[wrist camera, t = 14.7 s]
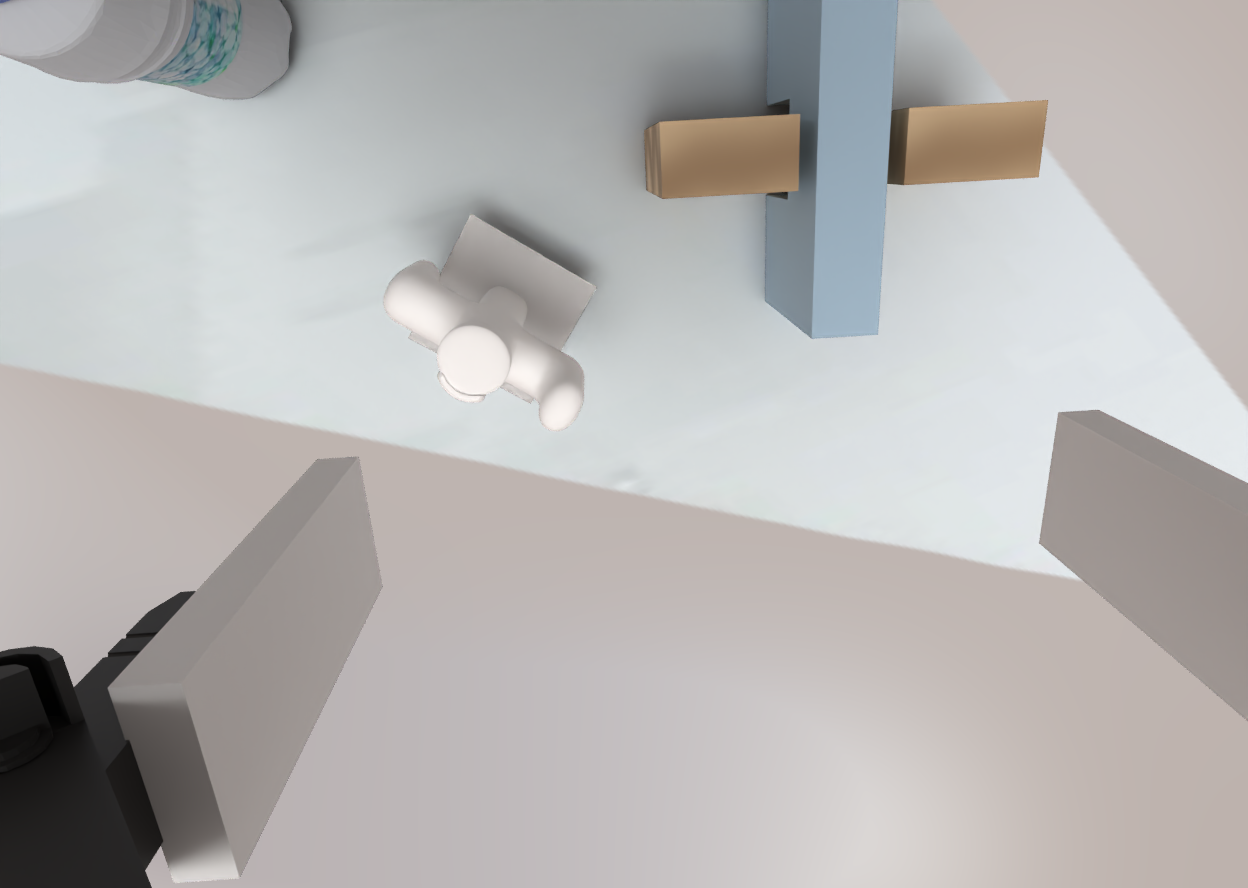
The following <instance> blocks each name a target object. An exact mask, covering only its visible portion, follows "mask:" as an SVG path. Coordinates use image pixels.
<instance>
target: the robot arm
mask: <svg viewBox="0 0 1248 888" xmlns="http://www.w3.org/2000/svg"><path fill="white" fill-rule="evenodd" d="M1039 543H1040V544H1041V545H1042V546H1043V547H1044V548H1045V549H1047V550H1048V551H1049V552H1050V553H1051V554H1052V555H1054V556H1055V557H1056V558H1057V559H1058V560H1059V561H1061V562H1062V563H1063V564H1064V565H1065V566H1066V567H1068V568H1069V569H1070V570H1071V571H1072V572H1073V573H1075V574H1076V575H1077V576H1078V577H1079V578H1080V579H1082V580H1083V581H1084V582H1085V583H1086V584H1088V585H1089V586H1090V587H1091V588H1092V589H1094V590H1095V591H1096V592H1097V593H1098V594H1099V595H1100V596H1102V597H1103V598H1104V599H1105V600H1106V601H1107V602H1109V603H1110V604H1111V605H1112V606H1113V607H1114V608H1116V609H1117V610H1118V611H1119V612H1120V613H1122V614H1123V615H1124V616H1125V617H1126V618H1127V619H1128V620H1130V621H1131V622H1132V623H1133V624H1134V625H1136V626H1137V627H1138V628H1139V629H1140V630H1141V631H1143V632H1144V633H1145V634H1146V635H1147V636H1148V637H1150V638H1151V639H1152V640H1153V641H1154V642H1155V643H1157V644H1158V645H1159V646H1160V647H1161V648H1163V649H1164V650H1165V651H1166V652H1167V653H1168V654H1169V655H1171V656H1172V657H1173V658H1174V659H1175V660H1177V661H1178V662H1179V663H1180V664H1181V665H1182V666H1184V667H1185V668H1186V669H1187V670H1188V671H1189V672H1191V673H1192V674H1193V675H1194V676H1195V677H1196V678H1198V679H1199V680H1200V681H1201V682H1202V683H1203V684H1205V685H1206V686H1207V687H1208V688H1209V689H1211V690H1212V691H1213V692H1214V693H1215V694H1216V695H1217V696H1219V697H1220V698H1221V699H1222V700H1223V701H1225V702H1226V703H1227V704H1228V705H1229V706H1230V707H1232V708H1233V709H1234V710H1235V711H1236V712H1237V713H1239V714H1240V715H1241V716H1242V717H1243V718H1244V719H1246V720H1247V721H1248V483H1246V482H1244V481H1242V480H1240V479H1238V478H1236V477H1234V476H1232V475H1230V474H1228V473H1226V472H1224V471H1222V470H1220V469H1218V468H1216V467H1214V466H1211V465H1209V464H1207V463H1205V462H1203V461H1201V460H1199V459H1197V458H1195V457H1193V456H1191V455H1189V454H1187V453H1185V452H1183V451H1181V450H1179V449H1177V448H1175V447H1173V446H1171V445H1169V444H1167V443H1165V442H1163V441H1161V440H1159V439H1157V438H1155V437H1152V436H1150V435H1148V434H1146V433H1144V432H1142V431H1140V430H1138V429H1136V428H1134V427H1132V426H1130V425H1128V424H1126V423H1124V422H1122V421H1120V420H1118V419H1116V418H1114V417H1112V416H1110V415H1108V414H1106V413H1104V412H1102V411H1100V410H1089V411H1073V412H1058V418H1057V425H1056V432H1055V439H1054V445H1053V452H1052V459H1051V466H1050V473H1049V479H1048V486H1047V493H1046V500H1045V507H1044V513H1043V520H1042V527H1041V534H1040V541H1039ZM382 587H383V586H382V582H381V576H380V570H379V565H378V560H377V554H376V549H375V543H374V537H373V532H372V526H371V521H370V515H369V510H368V504H367V499H366V493H365V488H364V483H363V477H362V471H361V466H360V460H359V457H346V458H329V459H317V460H316V461H315V462H314V463H313V465H312V466H311V467H310V468H309V469H308V470H307V471H306V472H305V473H304V474H303V475H302V476H301V478H300V479H299V480H298V481H297V482H296V483H295V484H294V485H293V486H292V487H291V489H290V490H289V491H288V492H287V493H286V494H285V495H284V496H283V497H282V498H281V499H280V501H278V503H277V504H276V505H275V506H274V507H273V508H272V509H271V510H270V511H269V512H268V513H267V515H266V516H265V517H264V518H263V519H262V520H261V521H260V522H259V523H258V524H257V526H256V527H255V528H254V529H253V530H252V531H251V532H250V533H249V534H248V535H247V536H246V537H245V539H244V540H243V541H242V542H241V543H240V544H239V545H238V546H237V547H236V548H235V549H234V550H233V552H232V553H231V554H230V555H229V556H228V557H227V558H226V559H225V560H224V562H223V563H222V564H221V565H220V566H219V567H218V568H217V569H216V570H215V571H214V572H213V573H212V574H211V576H210V577H209V578H208V579H207V580H206V581H205V582H204V583H203V584H202V585H201V586H200V588H199V589H198V590H197V591H190V592H180V593H179V594H177V595H175V596H174V597H172V598H170V599H169V600H167V601H165V602H164V603H162V604H160V605H159V606H157V607H156V608H154V609H152V610H151V611H149V612H148V613H147V614H146V615H145V616H144V617H143V618H142V619H141V620H140V621H139V622H138V623H137V624H136V625H135V626H134V627H133V628H132V629H131V630H130V631H129V632H128V633H127V634H126V638H125V639H121V640H120V641H119V642H118V643H117V644H116V645H115V646H114V647H113V648H112V649H111V650H110V651H109V652H108V657H105V658H102V660H100V661H99V663H98V664H97V665H96V666H95V667H94V668H93V669H92V670H91V671H90V672H89V673H88V674H87V675H86V676H85V677H84V678H83V679H82V680H81V681H80V682H79V683H78V684H77V685H76V686H75V687H73V684H72V682H71V679H70V676H69V673H68V670H67V668H66V665H65V662H64V659H63V656H61V655H60V654H59V653H58V652H57V651H55V650H54V649H52V648H44V647H36V646H33V647H26V648H18V649H10V650H6V651H2V652H0V888H152V887H151V885H150V882H149V880H148V877H147V874H146V872H145V870H146V868H147V867H148V865H149V863H150V862H151V860H152V859H153V857H154V855H155V854H156V852H157V850H158V849H159V847H160V846H161V847H162V850H163V853H164V856H165V858H166V861H167V864H168V867H169V870H170V873H171V876H172V879H173V882H174V883H182V882H196V881H210V880H223V879H237V878H240V877H241V875H242V873H243V871H244V869H245V867H246V864H247V863H248V860H249V858H250V856H251V854H252V852H253V850H254V848H255V846H256V844H257V842H258V840H259V838H260V836H261V834H262V832H263V830H264V828H265V826H266V824H267V822H268V820H269V817H270V815H271V814H272V811H273V809H274V807H275V805H276V803H277V801H278V799H279V797H280V795H281V793H282V791H283V789H284V787H285V785H286V783H287V781H288V779H289V777H290V775H291V773H292V770H293V768H294V766H295V765H296V762H297V760H298V758H299V756H300V754H301V752H302V750H303V748H304V746H305V744H306V742H307V740H308V738H309V736H310V734H311V732H312V729H313V728H314V726H315V723H316V722H317V720H318V718H319V715H320V713H321V711H322V709H323V707H324V705H325V703H326V701H327V699H328V697H329V695H330V693H331V691H332V689H333V687H334V685H335V683H336V681H337V679H338V677H339V674H340V673H341V671H342V668H343V666H344V664H345V662H346V660H347V658H348V656H349V654H350V652H351V650H352V648H353V646H354V644H355V642H356V640H357V638H358V636H359V634H360V631H361V630H362V628H363V626H364V624H365V622H366V619H367V618H368V615H369V613H370V611H371V609H372V607H373V605H374V603H375V601H376V599H377V597H378V595H379V593H380V591H381V589H382Z"/></svg>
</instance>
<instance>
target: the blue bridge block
mask: <svg viewBox="0 0 1248 888" xmlns="http://www.w3.org/2000/svg"><path fill="white" fill-rule="evenodd" d="M897 8H898V0H768V37H767V106H771V105H789V104H790V110H789V114H800V143H799V186H798V191H790V192H788V194H783V195H766V259H765V301H766V302H767V303H768V304H769V305H771V306H772V307H773V308H774V309H776V310H777V311H778V312H779V313H781V314H782V315H783V316H784V317H786V318H787V319H788V320H789V321H791V322H792V323H793V324H794V325H795V326H797V327H798V328H799V329H800V330H802V331H803V332H804V333H805V334H807V335H808V336H809V337H810V338H812V339H815V338H831V337H847V336H863V335H878V325H879V309H880V292H881V275H882V259H883V242H884V225H885V208H886V192H887V175H888V158H889V142H890V125H891V108H892V91H893V75H894V58H895V41H896V25H897Z"/></svg>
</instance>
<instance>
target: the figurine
mask: <svg viewBox="0 0 1248 888" xmlns="http://www.w3.org/2000/svg"><path fill="white" fill-rule="evenodd" d="M596 289H597V287H596V286H594V285H592V284H591V283H589V282H587V281H585V280H584V279H582V278H580V277H579V276H577V275H575V274H573V273H572V272H570V271H568V270H567V269H565V268H563V267H561V266H560V265H558V264H556V263H555V262H553V261H551V260H549V259H548V258H546V257H544V256H543V255H541V254H539V253H537V252H536V251H534V250H532V249H531V248H529V247H527V246H525V245H524V244H522V243H520V242H519V241H517V240H515V239H513V238H512V237H510V236H508V235H507V234H505V233H503V232H501V231H500V230H498V229H496V228H495V227H493V226H491V225H489V224H488V223H486V222H484V221H483V220H481V219H479V218H478V217H476V216H474V215H472V214H470V216H469V218H468V220H467V222H466V224H465V226H464V228H463V230H462V232H461V234H460V236H459V238H458V240H457V242H456V244H455V246H454V248H453V250H452V252H451V254H450V256H449V258H448V260H447V262H446V264H445V266H444V268H443V270H442V272H441V274H439V270H438V268H437V267H436V266H435V264H433V263H432V262H430V261H427V260H420V261H417V262H415V263H413V264H412V265H410V266H408V267H406V268H405V269H403V270H402V271H400V272H399V273H398V274H397V275H396V276H395V277H394V278H393V279H392V280H391V282H390V283H389V285H388V287H387V289H386V291H385V294H384V300H383V305H384V309H385V311H386V313H387V314H388V316H389V317H390V318H391V319H392V320H394V321H395V322H396V323H398V324H400V325H401V326H403V327H405V328H407V329H409V330H411V333H410V335H409V337H408V338H409V339H411V340H413V341H415V342H417V343H419V344H420V345H422V346H424V347H426V348H428V349H430V350H432V351H433V352H435V353H437V364H438V368H439V373H438V375H437V377H438V380H439V382H440V384H441V386H442V387H443V388H444V390H445V391H446V392H447V393H448V394H449V395H451V396H452V397H454V398H455V399H458V400H460V401H464V402H471V403H474V402H481V401H483V400H484V398H485V396H486V394H489V393H491V392H493V391H495V390H496V389H498V388H499V387H500V388H502V389H504V390H506V391H508V392H510V393H512V394H513V395H515V396H517V397H519V398H521V399H523V400H525V401H527V402H528V403H530V404H531V402H532V401H533V399H535V400H536V401H537V402H538V403H539V405H540V406H539V418H540V421H541V423H542V425H543V426H544V427H545V428H546V429H548V430H550V431H561V430H564V429H565V428H567V427H568V426H570V425H571V424H572V423H573V421H574V420H575V419H576V417H577V416H578V414H579V412H580V410H581V407H582V405H583V400H584V373H583V370H582V368H581V366H580V365H579V363H578V362H577V361H576V360H575V359H573V358H572V357H570V356H569V355H567V354H565V353H563V352H561V350H562V348H563V346H564V345H565V343H566V341H567V339H568V338H569V336H570V334H571V332H572V331H573V329H574V327H575V325H576V324H577V322H578V320H579V318H580V317H581V315H582V313H583V311H584V310H585V308H586V306H587V304H588V303H589V301H590V299H591V297H592V296H593V294H594V292H595V290H596Z"/></svg>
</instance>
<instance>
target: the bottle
mask: <svg viewBox="0 0 1248 888" xmlns="http://www.w3.org/2000/svg"><path fill="white" fill-rule="evenodd" d="M291 31H292V25H291V20H290V17H289V14H288V12H287V11H286V9H285V8H284V6H283V5H282V3H281V1H280V0H0V55H3V56H5V57H8V58H11V59H14V60H16V61H19V62H22V63H24V64H27V65H30V66H33V67H35V68H37V69H39V70H41V71H43V72H46V73H48V74H51V75H53V76H56V77H59V78H62V79H67V80H72V81H76V82H96V83H123V82H129V81H132V80H135V79H136V80H142V81H148V82H153V83H159V84H165V85H170V86H176V87H179V88H182V89H185V90H188V91H191V92H194V93H198V94H201V95H205V96H209V97H214V98H219V99H247V98H252V97H255V96H256V95H258V94H259V93H260V92H262V91H263V90H265V89H266V88H268V87H269V86H270V85H271V84H272V83H274V82H275V81H277V80H278V79H280V78H281V77H282V76H283V75H284V74H285V72H286V71H287V69H288V66H289V56H288V53H289V40H290V32H291Z"/></svg>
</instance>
